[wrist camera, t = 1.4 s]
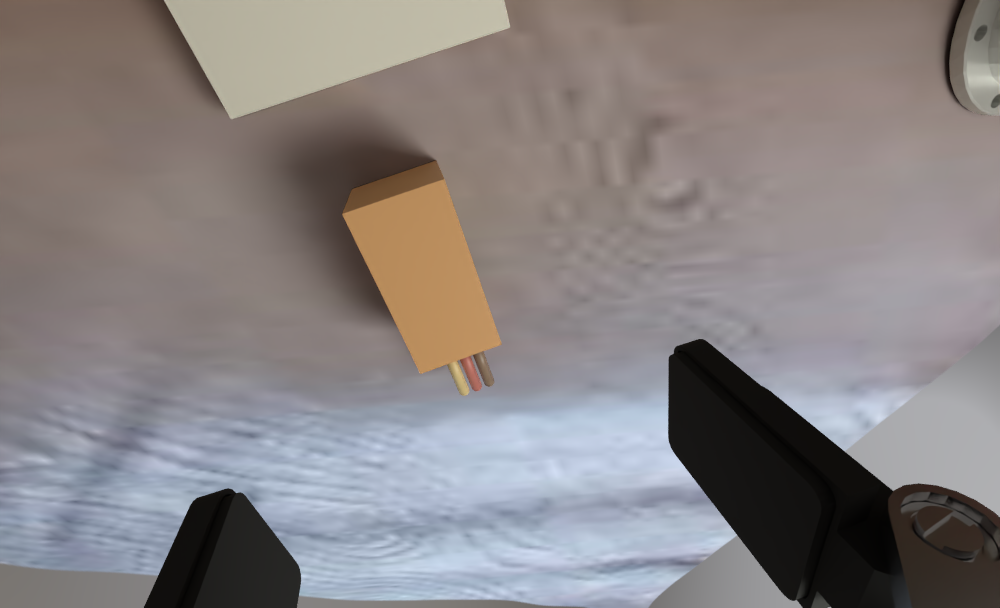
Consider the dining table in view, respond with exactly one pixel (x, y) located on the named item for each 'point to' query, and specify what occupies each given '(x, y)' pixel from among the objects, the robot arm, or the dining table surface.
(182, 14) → the board
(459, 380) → the plug housing
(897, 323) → the dining table surface
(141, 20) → the dining table surface
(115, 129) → the dining table surface
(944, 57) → the dining table surface
